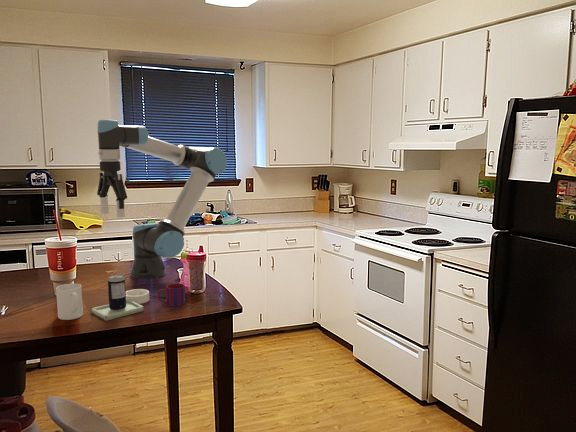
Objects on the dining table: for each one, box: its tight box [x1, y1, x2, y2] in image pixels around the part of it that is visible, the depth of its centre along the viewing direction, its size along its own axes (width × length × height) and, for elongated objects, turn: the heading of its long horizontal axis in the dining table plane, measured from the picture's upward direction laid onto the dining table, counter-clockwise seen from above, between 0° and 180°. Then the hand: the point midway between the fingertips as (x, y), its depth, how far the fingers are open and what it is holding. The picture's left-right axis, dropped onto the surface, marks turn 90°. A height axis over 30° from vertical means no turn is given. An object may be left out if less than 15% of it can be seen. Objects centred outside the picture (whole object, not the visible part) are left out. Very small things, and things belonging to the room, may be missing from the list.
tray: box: [91, 300, 145, 321], centre depth 179 cm, size 14×11×2 cm
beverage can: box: [107, 274, 127, 311], centre depth 179 cm, size 6×6×12 cm
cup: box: [157, 282, 186, 307], centre depth 187 cm, size 7×10×7 cm
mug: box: [55, 283, 84, 321], centre depth 173 cm, size 12×8×10 cm, turn 39°
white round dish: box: [126, 288, 150, 305], centre depth 192 cm, size 9×9×3 cm
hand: (112, 215), depth 199 cm, fingers open, 13 cm apart
